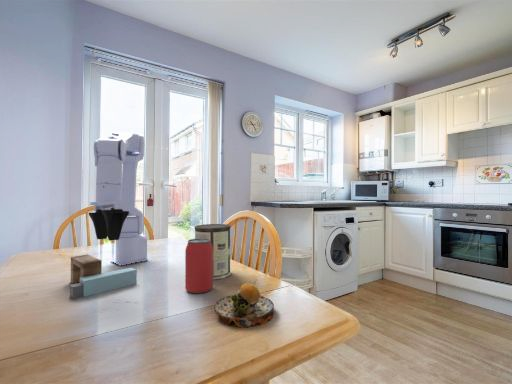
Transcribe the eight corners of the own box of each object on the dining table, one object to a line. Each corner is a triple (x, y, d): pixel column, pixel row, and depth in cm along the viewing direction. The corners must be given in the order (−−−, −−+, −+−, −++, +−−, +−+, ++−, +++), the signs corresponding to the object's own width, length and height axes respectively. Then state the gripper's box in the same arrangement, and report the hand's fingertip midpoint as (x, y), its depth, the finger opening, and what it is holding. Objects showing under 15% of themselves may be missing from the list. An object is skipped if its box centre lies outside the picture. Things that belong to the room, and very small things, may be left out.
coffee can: (208, 267, 84) (208, 223, 84) (236, 272, 80) (236, 224, 80) (186, 277, 75) (186, 226, 75) (217, 282, 70) (218, 228, 70)
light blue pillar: (131, 280, 71) (131, 267, 71) (136, 283, 69) (136, 269, 69) (69, 295, 61) (69, 280, 61) (73, 299, 59) (73, 283, 59)
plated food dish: (247, 297, 61) (247, 264, 61) (287, 314, 52) (287, 276, 52) (201, 313, 52) (201, 275, 52) (239, 337, 44) (239, 291, 44)
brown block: (87, 278, 73) (87, 254, 73) (101, 286, 67) (101, 260, 67) (70, 282, 70) (70, 257, 70) (83, 291, 64) (83, 263, 64)
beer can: (217, 286, 67) (217, 238, 67) (204, 296, 61) (204, 243, 61) (194, 283, 69) (195, 237, 69) (179, 292, 63) (179, 241, 63)
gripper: (81, 187, 69) (79, 239, 68) (102, 180, 60) (100, 242, 58) (110, 188, 74) (109, 237, 73) (134, 183, 65) (132, 239, 64)
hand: (107, 239), depth 66 cm, fingers open, 7 cm apart
